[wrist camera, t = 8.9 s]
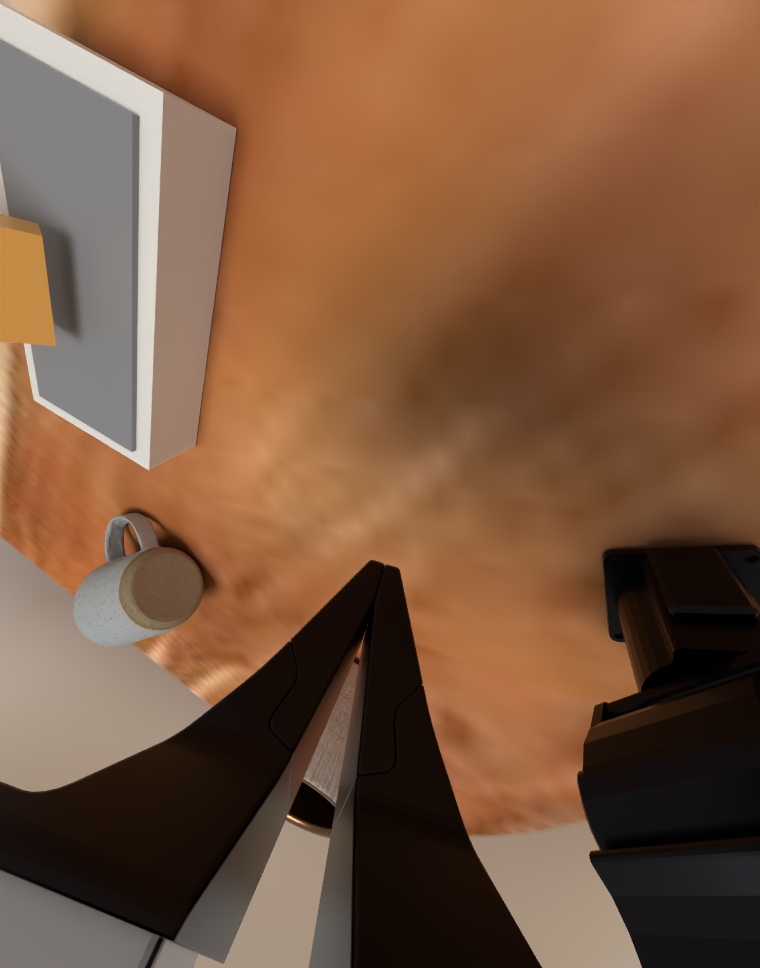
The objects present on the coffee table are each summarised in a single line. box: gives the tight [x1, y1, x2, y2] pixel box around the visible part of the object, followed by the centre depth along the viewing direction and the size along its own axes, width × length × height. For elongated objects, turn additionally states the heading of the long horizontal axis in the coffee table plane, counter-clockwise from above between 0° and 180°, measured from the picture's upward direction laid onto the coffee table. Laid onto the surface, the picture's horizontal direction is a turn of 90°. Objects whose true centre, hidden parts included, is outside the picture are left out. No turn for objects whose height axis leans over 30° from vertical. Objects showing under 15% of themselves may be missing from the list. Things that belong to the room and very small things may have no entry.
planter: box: [285, 660, 359, 838], centre depth 32 cm, size 11×11×10 cm
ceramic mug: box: [73, 513, 203, 647], centre depth 32 cm, size 11×8×8 cm
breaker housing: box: [0, 2, 237, 470], centre depth 20 cm, size 9×18×4 cm, turn 155°
